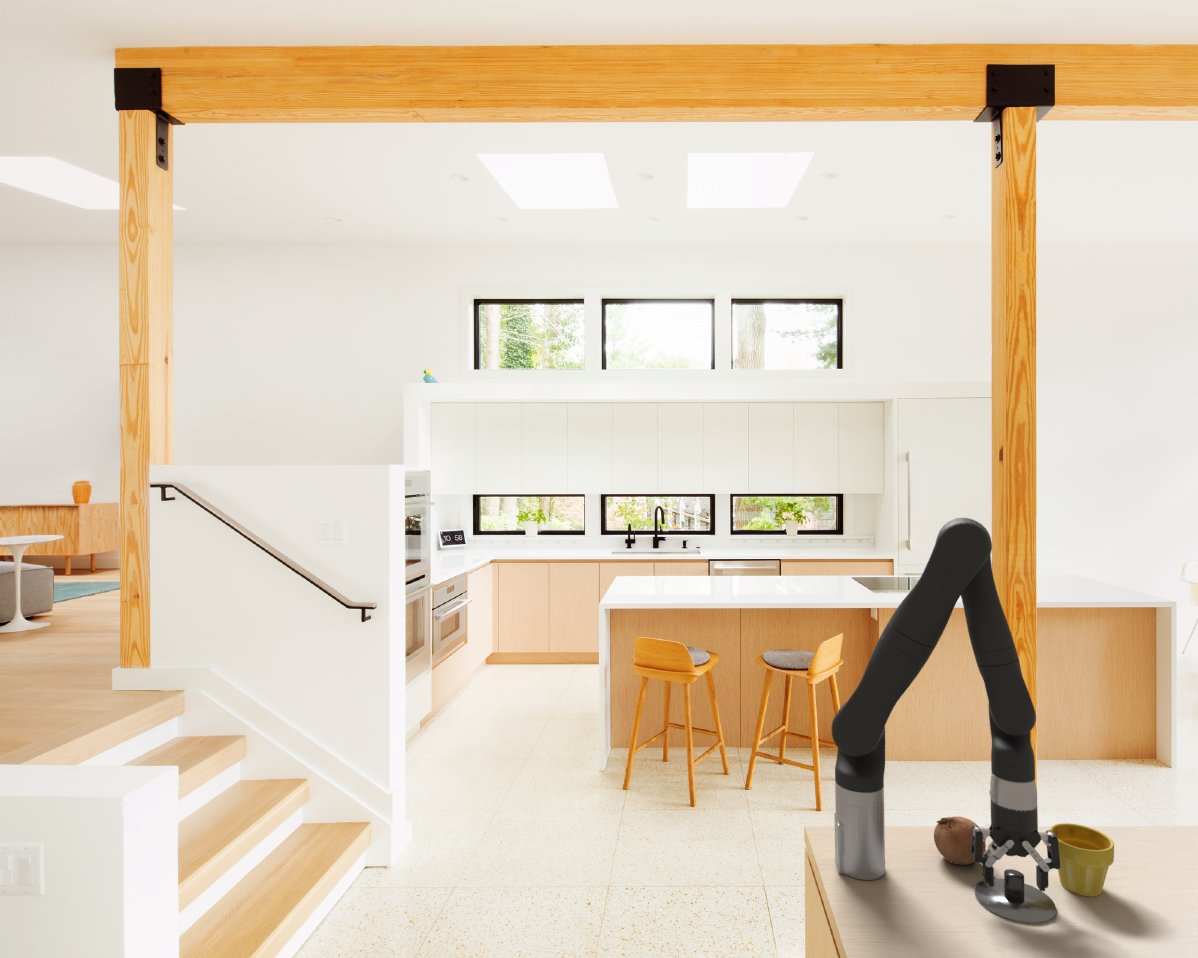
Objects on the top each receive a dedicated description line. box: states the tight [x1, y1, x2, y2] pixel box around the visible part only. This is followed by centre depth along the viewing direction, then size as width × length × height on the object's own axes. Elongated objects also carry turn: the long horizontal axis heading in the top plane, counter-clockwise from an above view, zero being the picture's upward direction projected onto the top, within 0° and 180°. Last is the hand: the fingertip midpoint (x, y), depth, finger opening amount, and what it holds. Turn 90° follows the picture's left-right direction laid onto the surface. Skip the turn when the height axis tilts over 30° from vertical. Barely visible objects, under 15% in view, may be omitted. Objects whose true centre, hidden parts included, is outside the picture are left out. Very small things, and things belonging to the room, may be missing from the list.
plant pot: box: [1049, 822, 1115, 897], centre depth 139 cm, size 10×10×10 cm
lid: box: [974, 868, 1057, 925], centre depth 135 cm, size 13×13×6 cm
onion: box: [933, 816, 987, 865], centre depth 148 cm, size 10×9×10 cm
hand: (1015, 886), depth 134 cm, fingers open, 8 cm apart
